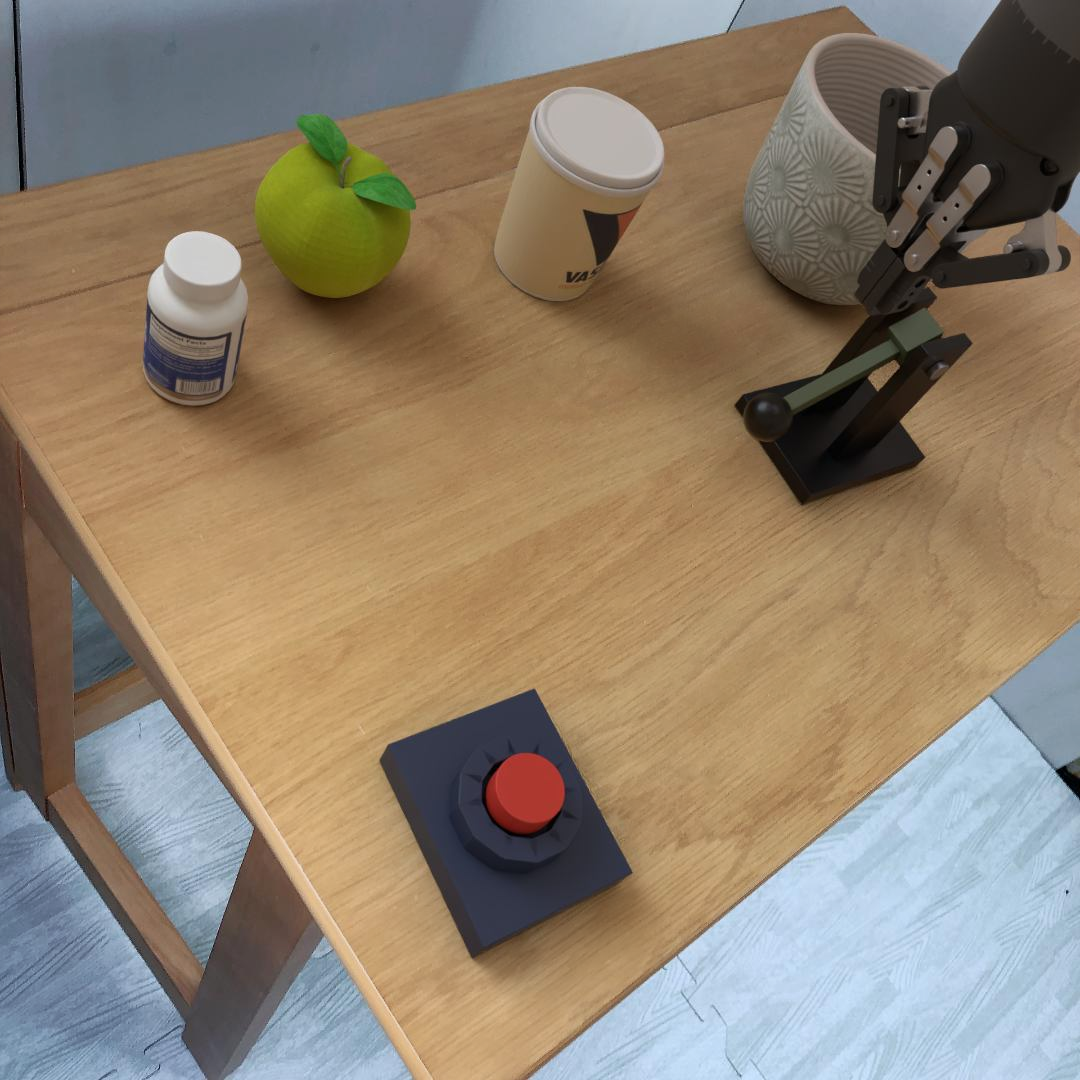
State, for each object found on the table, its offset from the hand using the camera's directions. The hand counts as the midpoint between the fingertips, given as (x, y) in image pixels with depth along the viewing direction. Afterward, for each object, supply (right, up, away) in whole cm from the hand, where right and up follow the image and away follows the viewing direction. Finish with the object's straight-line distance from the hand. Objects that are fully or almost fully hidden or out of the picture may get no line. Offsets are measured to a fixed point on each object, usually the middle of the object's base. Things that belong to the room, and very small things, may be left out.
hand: (873, 304), depth 62 cm
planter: (+4, +10, +33) cm, 35 cm away
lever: (+2, -3, +15) cm, 15 cm away
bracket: (+3, -5, +23) cm, 23 cm away
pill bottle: (-39, -3, +7) cm, 40 cm away
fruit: (-33, +5, +15) cm, 36 cm away
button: (-19, -26, -4) cm, 32 cm away
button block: (-20, -27, -2) cm, 34 cm away
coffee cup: (-18, +8, +23) cm, 30 cm away
